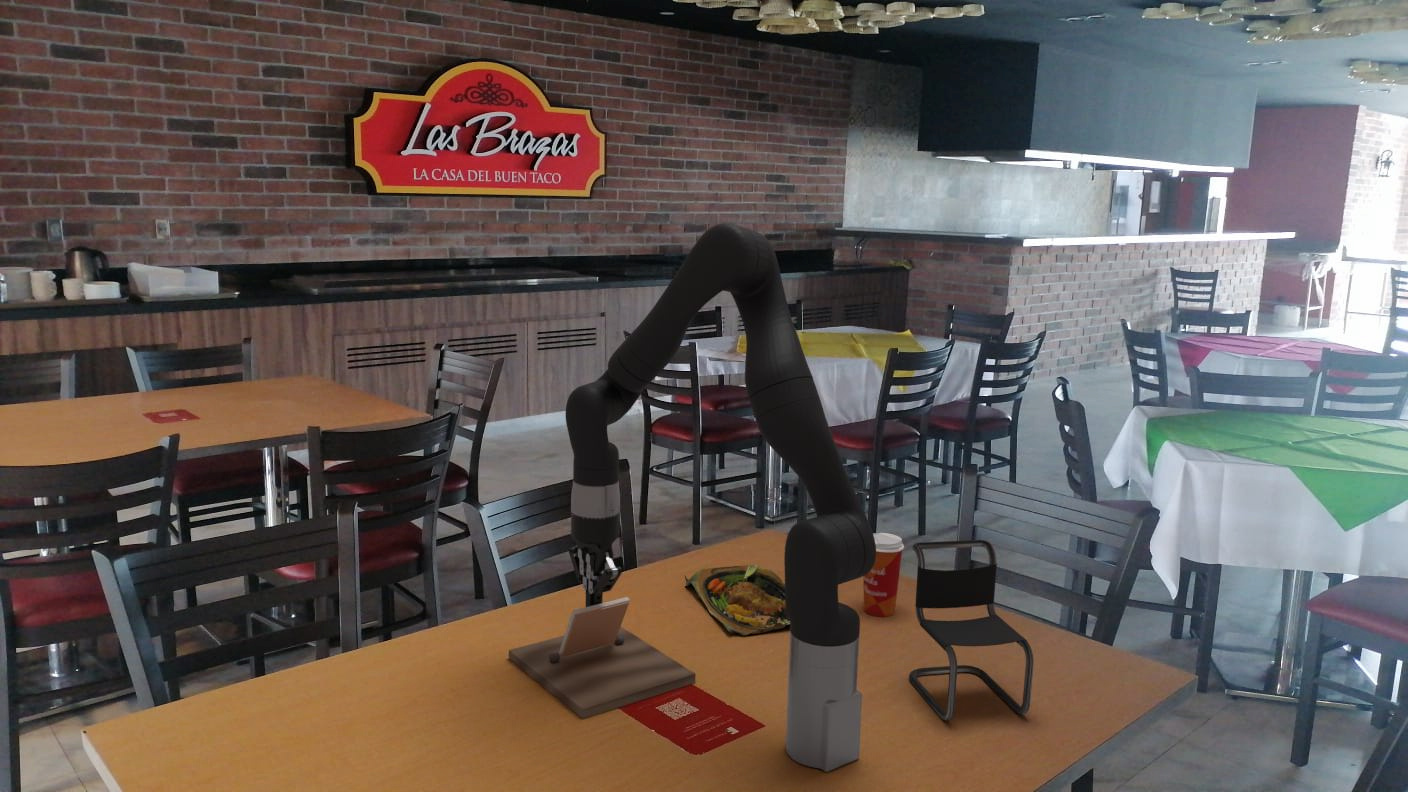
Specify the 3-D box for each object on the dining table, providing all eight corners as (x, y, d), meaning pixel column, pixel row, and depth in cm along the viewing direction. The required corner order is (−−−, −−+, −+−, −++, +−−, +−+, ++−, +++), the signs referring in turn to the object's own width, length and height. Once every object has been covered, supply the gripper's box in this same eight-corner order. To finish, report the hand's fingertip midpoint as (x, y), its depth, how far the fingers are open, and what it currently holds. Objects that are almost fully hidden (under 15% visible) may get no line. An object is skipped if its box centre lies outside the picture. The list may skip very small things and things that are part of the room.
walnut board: (695, 682, 157) (695, 665, 157) (582, 719, 145) (582, 700, 145) (614, 630, 176) (614, 614, 176) (508, 658, 164) (508, 641, 164)
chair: (977, 668, 164) (986, 538, 160) (1030, 721, 147) (1042, 577, 143) (901, 673, 162) (909, 542, 158) (947, 728, 145) (956, 582, 141)
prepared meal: (826, 608, 179) (731, 619, 173) (825, 627, 179) (730, 638, 173) (765, 562, 205) (680, 569, 199) (764, 578, 206) (680, 586, 200)
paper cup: (850, 606, 189) (853, 534, 186) (884, 600, 192) (888, 529, 189) (874, 622, 182) (878, 547, 179) (909, 615, 185) (913, 542, 182)
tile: (612, 639, 167) (615, 643, 166) (558, 653, 161) (561, 658, 160) (627, 596, 161) (630, 601, 161) (572, 610, 156) (575, 615, 155)
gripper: (639, 516, 154) (636, 622, 157) (594, 493, 164) (592, 594, 168) (596, 524, 150) (594, 633, 153) (553, 500, 160) (552, 603, 163)
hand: (593, 612), depth 160 cm, fingers closed
